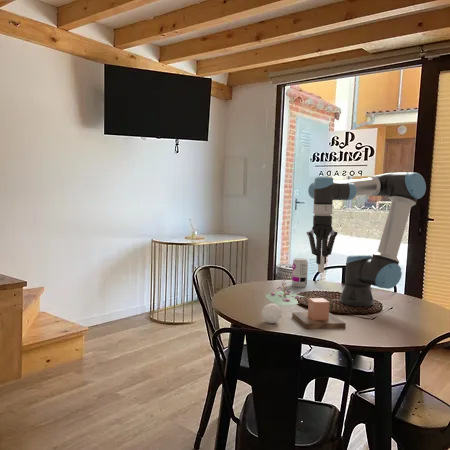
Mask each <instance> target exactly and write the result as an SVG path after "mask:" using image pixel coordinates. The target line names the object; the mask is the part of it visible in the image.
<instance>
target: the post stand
mask: <svg viewBox="0 0 450 450" xmlns="http://www.w3.org/2000/svg"><path fill="white" fill-rule="evenodd" d="M291 312H292V311H291ZM291 315H292V316H291V318H292V319H294V320H295V321H296V322H297V323H299V324H300V325H301V327H303V328H304V329H306V330H326V329H329V330H331V329H346V327H347V326H346V325H347V324H346V322H344V320H341V319H340V318H338V317H337V316H336V315H334V314H333V313H331V312H330V311H329V320H313V319H312V318H310V317H309V316H308V311H302V312H301V311H299V312H298V311H296V312H292V313H291Z"/></svg>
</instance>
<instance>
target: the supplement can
mask: <svg viewBox="0 0 450 450" xmlns="http://www.w3.org/2000/svg"><path fill="white" fill-rule="evenodd" d="M308 268H309V261H308V260H307V258H300V257H298V258H297V257H296V258H294V259H293V261H292V278H291V286H293V287H295V288H296V287H297V288H306V287H307V286H308Z"/></svg>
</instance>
